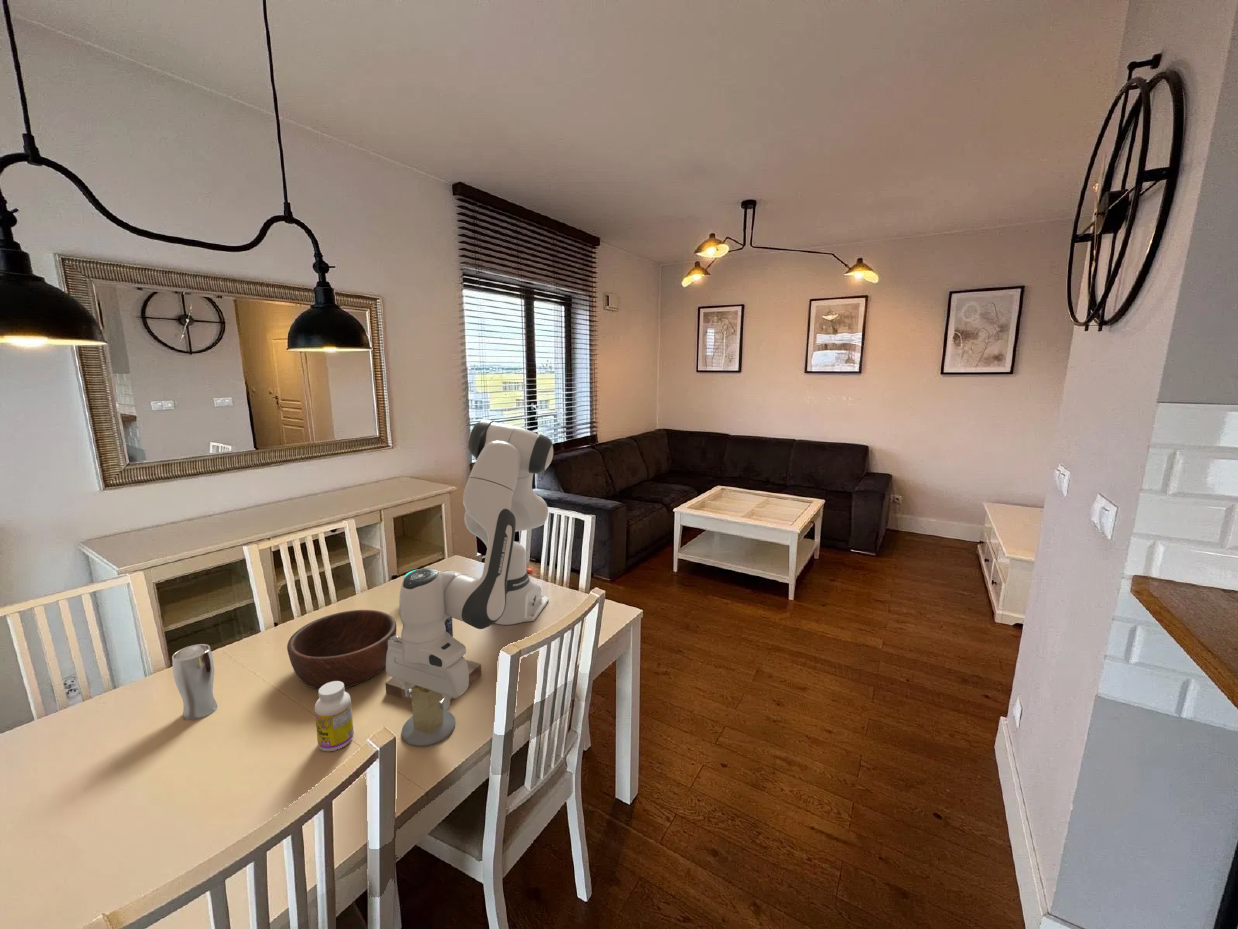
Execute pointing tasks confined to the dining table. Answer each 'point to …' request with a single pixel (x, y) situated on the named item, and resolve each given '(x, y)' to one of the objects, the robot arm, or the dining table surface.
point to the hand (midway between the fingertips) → (427, 702)
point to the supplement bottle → (333, 717)
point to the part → (426, 709)
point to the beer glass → (195, 680)
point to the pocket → (398, 691)
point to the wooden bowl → (341, 647)
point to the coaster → (424, 739)
